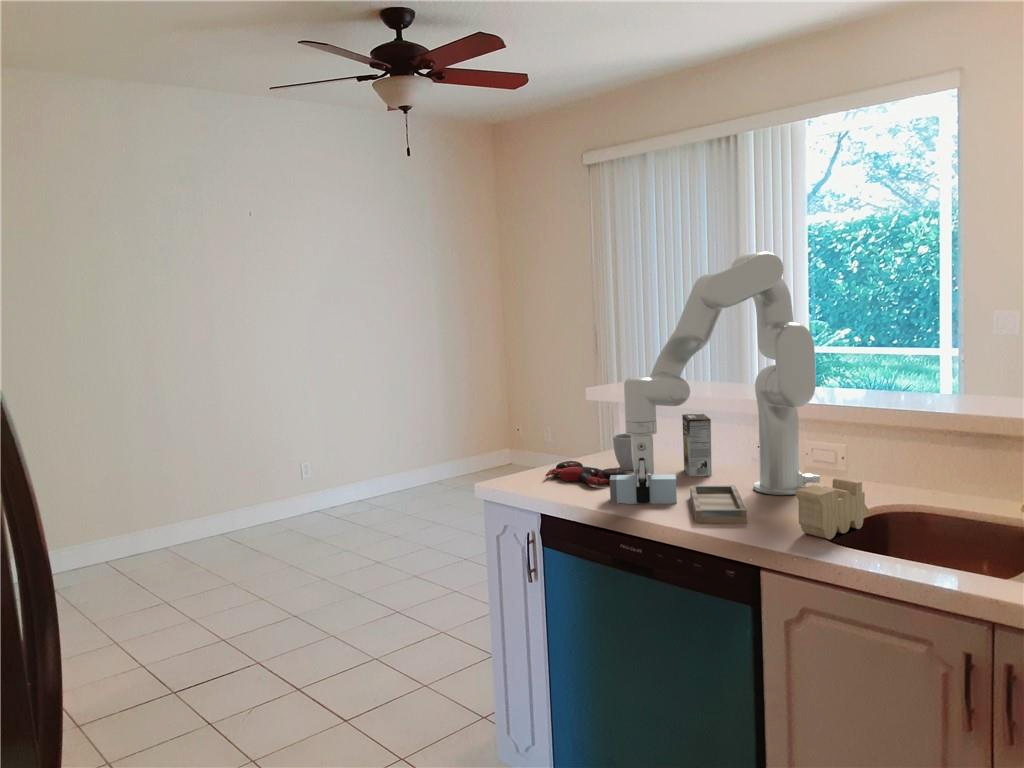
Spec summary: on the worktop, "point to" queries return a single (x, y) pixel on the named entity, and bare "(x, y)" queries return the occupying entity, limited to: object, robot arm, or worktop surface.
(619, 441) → the mug
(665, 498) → the light blue block
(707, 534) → the worktop surface
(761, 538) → the worktop surface
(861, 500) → the toy train
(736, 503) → the cradle
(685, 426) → the coffee box
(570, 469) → the toy motorcycle
